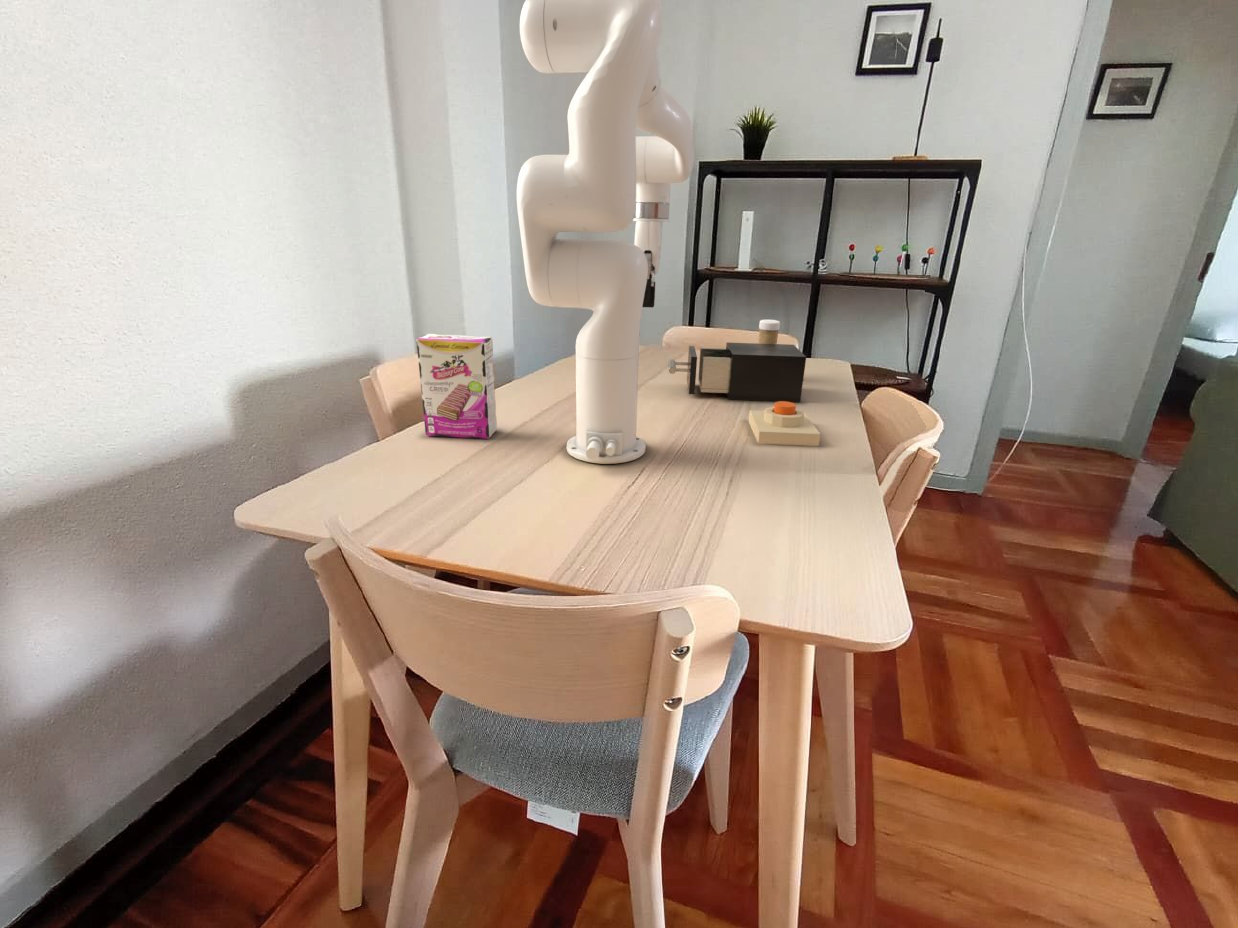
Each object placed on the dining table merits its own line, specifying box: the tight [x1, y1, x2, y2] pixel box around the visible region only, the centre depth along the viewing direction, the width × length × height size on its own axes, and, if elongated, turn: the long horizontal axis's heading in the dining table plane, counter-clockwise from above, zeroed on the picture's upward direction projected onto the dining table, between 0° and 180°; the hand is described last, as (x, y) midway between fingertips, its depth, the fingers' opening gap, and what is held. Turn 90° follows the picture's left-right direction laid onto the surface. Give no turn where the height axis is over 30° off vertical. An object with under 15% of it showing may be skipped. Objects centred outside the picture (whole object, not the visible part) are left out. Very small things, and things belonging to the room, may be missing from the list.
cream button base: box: [748, 406, 821, 447], centre depth 106 cm, size 12×10×4 cm
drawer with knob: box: [667, 345, 732, 395], centre depth 130 cm, size 18×11×8 cm, turn 86°
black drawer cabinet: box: [725, 342, 807, 404], centre depth 129 cm, size 15×13×10 cm
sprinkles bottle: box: [757, 319, 781, 344], centre depth 141 cm, size 5×5×14 cm
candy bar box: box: [415, 333, 498, 440], centre depth 100 cm, size 11×5×16 cm, turn 85°
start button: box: [773, 401, 797, 415], centre depth 105 cm, size 4×4×2 cm
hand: (646, 303), depth 126 cm, fingers open, 8 cm apart
